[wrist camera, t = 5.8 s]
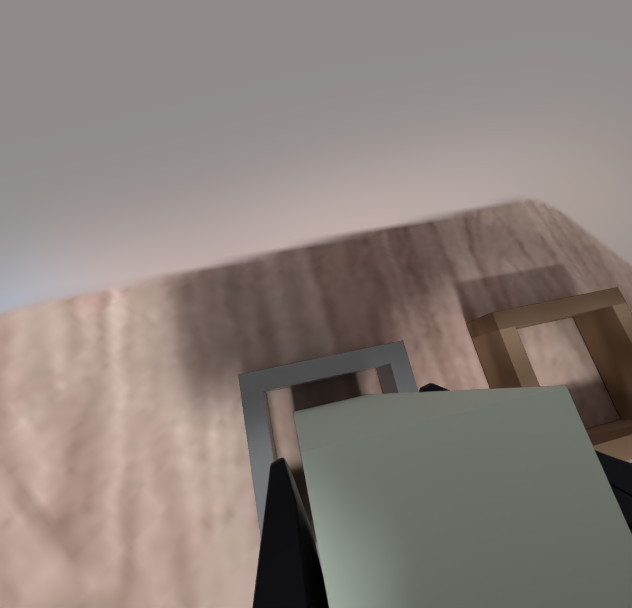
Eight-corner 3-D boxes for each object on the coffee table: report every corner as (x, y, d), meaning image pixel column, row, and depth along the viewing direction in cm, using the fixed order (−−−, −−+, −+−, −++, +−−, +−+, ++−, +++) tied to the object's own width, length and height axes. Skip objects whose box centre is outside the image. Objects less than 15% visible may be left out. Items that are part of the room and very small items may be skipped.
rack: (643, 432, 18) (697, 438, 15) (519, 469, 17) (558, 481, 14) (578, 300, 20) (617, 287, 18) (466, 323, 19) (492, 312, 16)
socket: (432, 506, 16) (458, 526, 13) (270, 555, 14) (267, 587, 12) (387, 347, 18) (402, 340, 16) (245, 377, 17) (238, 374, 14)
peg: (388, 477, 15) (727, 752, 3) (309, 499, 14) (387, 925, 3) (367, 394, 16) (566, 385, 4) (292, 411, 15) (300, 452, 4)
